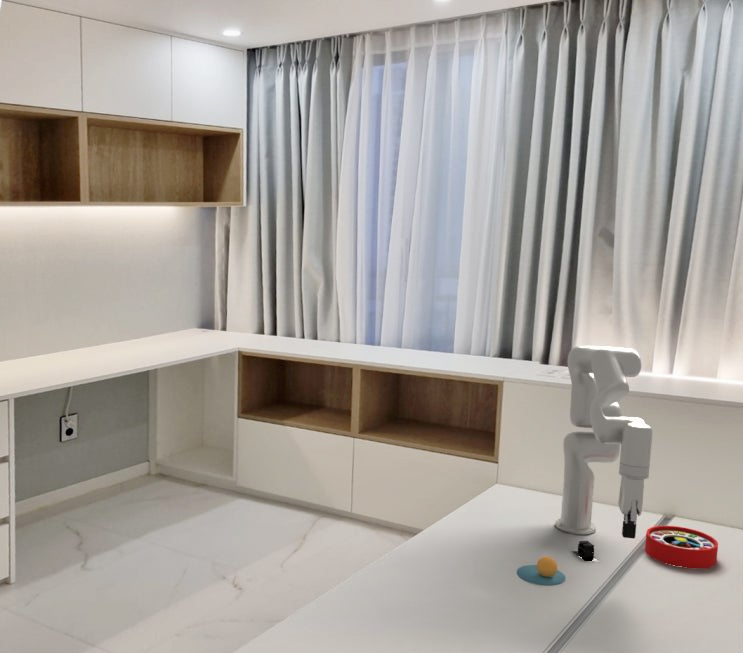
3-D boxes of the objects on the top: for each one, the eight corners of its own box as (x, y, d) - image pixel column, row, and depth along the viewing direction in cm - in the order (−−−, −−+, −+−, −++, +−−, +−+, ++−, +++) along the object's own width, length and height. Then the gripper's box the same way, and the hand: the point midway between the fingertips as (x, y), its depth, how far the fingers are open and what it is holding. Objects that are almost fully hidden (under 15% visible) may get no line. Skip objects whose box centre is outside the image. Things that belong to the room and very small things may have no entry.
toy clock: (666, 521, 248) (729, 540, 233) (664, 539, 248) (728, 559, 234) (633, 534, 234) (699, 555, 220) (632, 553, 235) (697, 575, 220)
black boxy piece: (563, 550, 235) (565, 536, 235) (585, 549, 237) (586, 534, 237) (586, 567, 223) (587, 552, 223) (608, 565, 225) (609, 550, 225)
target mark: (516, 563, 222) (517, 562, 222) (563, 568, 220) (564, 568, 220) (516, 581, 209) (516, 581, 209) (566, 588, 207) (566, 587, 207)
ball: (558, 568, 216) (538, 573, 217) (552, 550, 216) (533, 555, 216) (561, 577, 211) (541, 583, 211) (555, 559, 210) (535, 564, 211)
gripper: (616, 461, 215) (610, 525, 217) (623, 476, 201) (617, 545, 203) (644, 464, 214) (638, 529, 216) (653, 479, 199) (647, 548, 201)
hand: (628, 536), depth 209 cm, fingers closed
